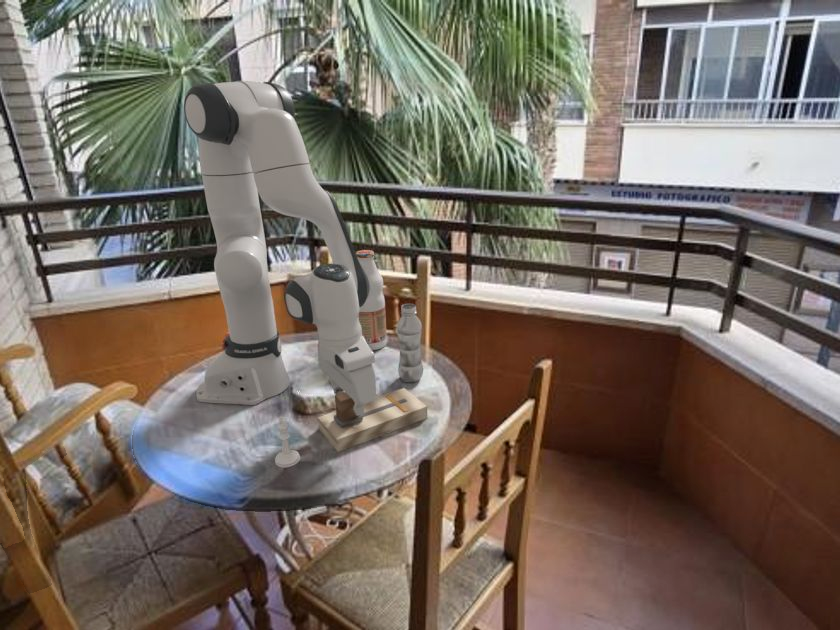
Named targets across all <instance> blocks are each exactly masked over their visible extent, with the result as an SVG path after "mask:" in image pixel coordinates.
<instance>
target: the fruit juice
mask: <svg viewBox="0 0 840 630" xmlns="http://www.w3.org/2000/svg"><path fill="white" fill-rule="evenodd" d="M355 253H356V255H357V258H358V260H359V262H360V264H361V266H362V268H363V269H364V271H365V273H366V275H367V277H368V280H369V283H370V291H369V295H368V297H367V300H366V301H365V303H364V305H363V306H362V307H360V308H359V315H358V318H359V322H360V324H361V328H362V336H364V338H365V341H366V343H367V345H368V346H369V348H370V349H371V350H372V351H377V350H380V349H383V348H384V347H385V346H386V345H387V342H388V339H387V338H388V337H387V321H386V320H387V318H386V315H387V314H386V301H385V299H386V298H385V295H384V292H383V289H384V288H383V287H384V278H383V276H382V275H381V273H380V271H379V270H378V267H377V265H376V262H375V260H374V258H375V252H374V251H373V250H372V249H371V250H370V249H362V250H358V251H356V252H355Z"/></svg>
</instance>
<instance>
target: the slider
mask: <svg viewBox="0 0 840 630" xmlns="http://www.w3.org/2000/svg"><path fill="white" fill-rule="evenodd" d="M334 404H335V411H336V415H333V417H334V420H335V421H336V422H337V423H338V424H339V425H340V427H341V428H343V427H346V426H349V425H351V424H354V423H357V422H360V421H362V420H363V416H362V415H359V416H357V415H356V414H355V413H354V412H353V406H354V405H355V402H354V401H353V399H352V398H351V397H350V396H349V395H348V394H347V393H346V392H343V393H340V394H337V395H335V394H334Z"/></svg>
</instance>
